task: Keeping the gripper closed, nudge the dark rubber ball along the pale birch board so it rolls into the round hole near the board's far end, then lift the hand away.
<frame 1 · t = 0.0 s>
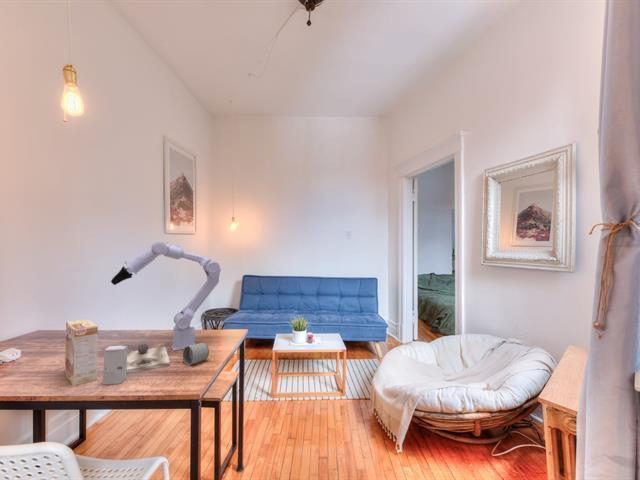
hand: (112, 282, 130), 32 cm above the table, tool tilted 50°, fingers open, 7 cm apart
ceramic mug: (193, 362, 126), on the table
coffeecake box: (80, 377, 110), on the table
board: (143, 361, 126), on the table
ball: (143, 348, 131), point 3 cm above the table, touching board
skincare box: (114, 382, 107), on the table
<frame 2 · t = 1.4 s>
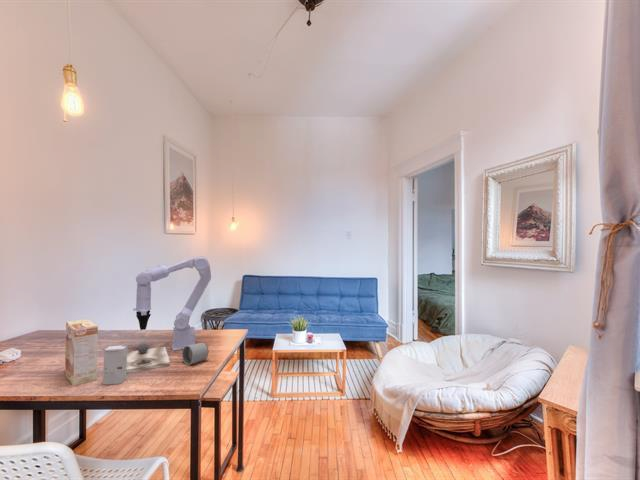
hand: (142, 328, 138), 10 cm above the table, tool pointing down, fingers open, 5 cm apart
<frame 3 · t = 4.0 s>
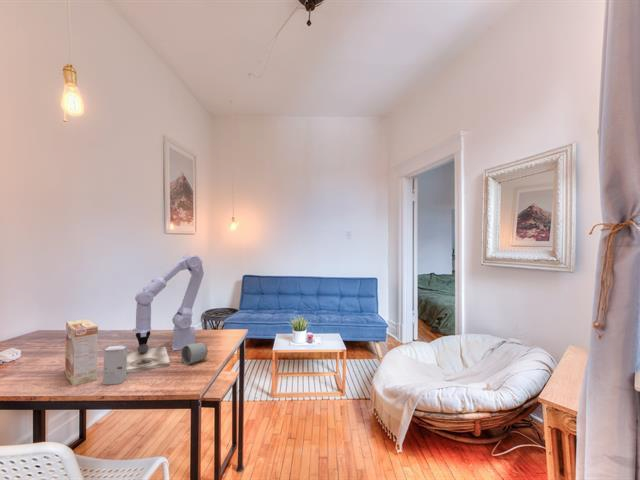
hand: (142, 349, 133), 2 cm above the table, tool pointing down, fingers closed, pressing on ball
ball: (142, 348, 131), point 3 cm above the table, touching board, gripper
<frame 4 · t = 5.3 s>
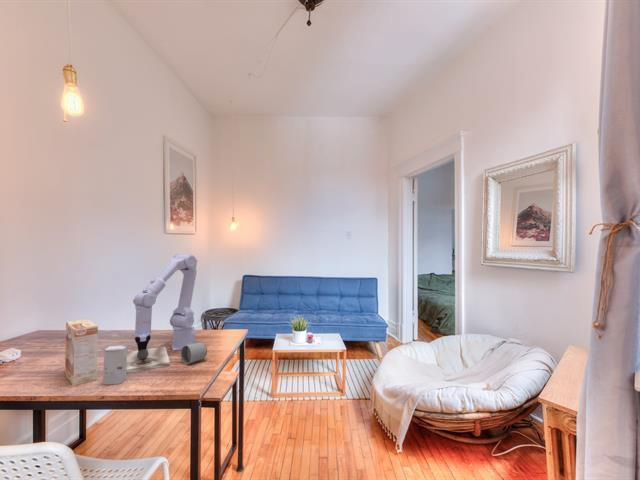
hand: (142, 354, 125), 3 cm above the table, tool pointing down, fingers closed, pressing on ball
ball: (142, 354, 124), point 3 cm above the table, tilted 133°, touching board, gripper
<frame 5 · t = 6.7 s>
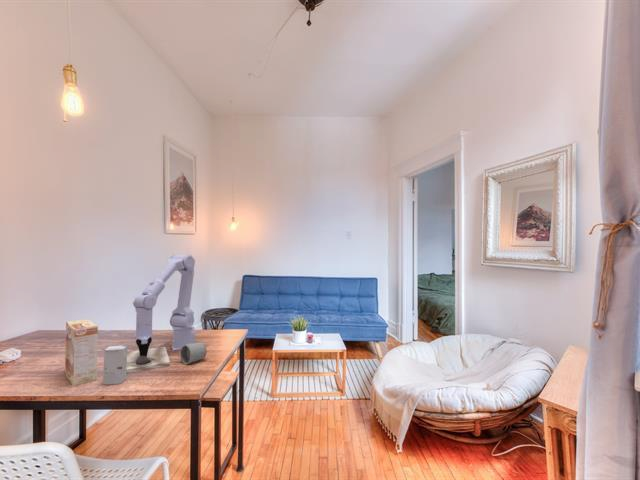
hand: (143, 356, 124), 2 cm above the table, tool pointing down, fingers closed
ball: (142, 360, 121), point 2 cm above the table, tilted 61°
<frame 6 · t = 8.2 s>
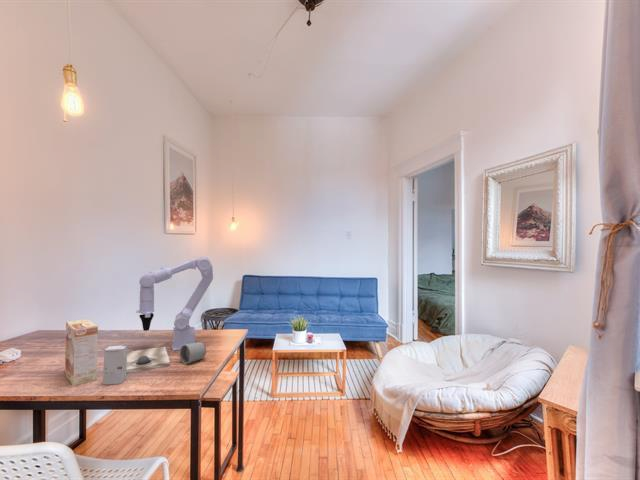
hand: (146, 330, 138), 9 cm above the table, tool pointing down, fingers closed
ball: (143, 360, 121), point 2 cm above the table, tilted 52°
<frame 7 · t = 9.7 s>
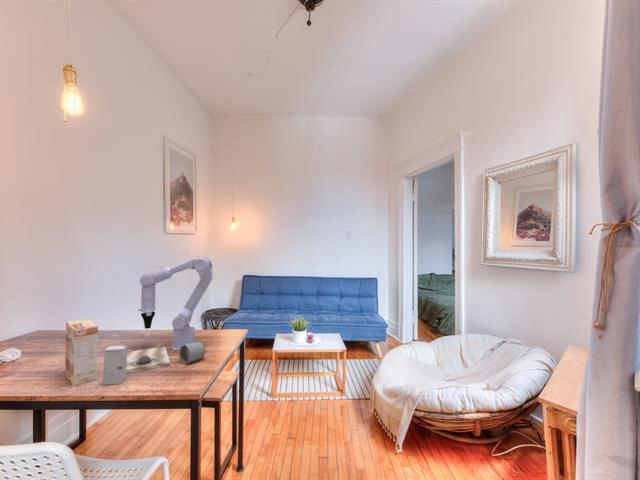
hand: (147, 328, 141), 9 cm above the table, tool pointing down, fingers closed
ball: (144, 360, 121), point 2 cm above the table, tilted 45°
at the end: ball 0.3 cm from the target spot on the board, point 2.0 cm above the board's base; ball touching table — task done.
